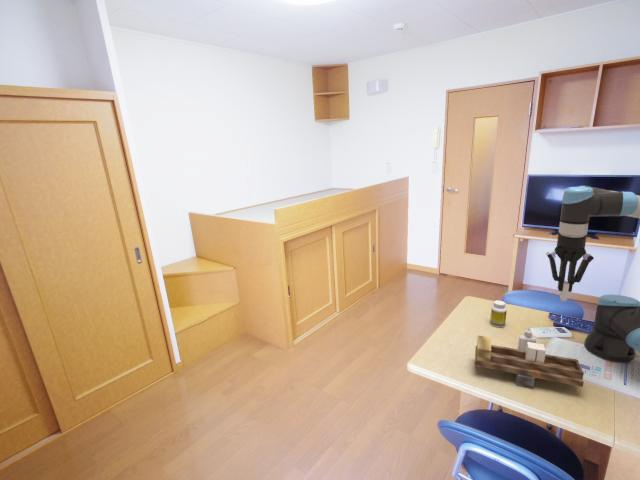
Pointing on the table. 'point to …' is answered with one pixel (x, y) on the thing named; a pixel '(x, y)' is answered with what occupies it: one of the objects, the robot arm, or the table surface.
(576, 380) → the beam
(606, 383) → the table surface
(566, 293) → the robot arm
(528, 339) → the white rectangular bottle
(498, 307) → the pill bottle
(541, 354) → the block
